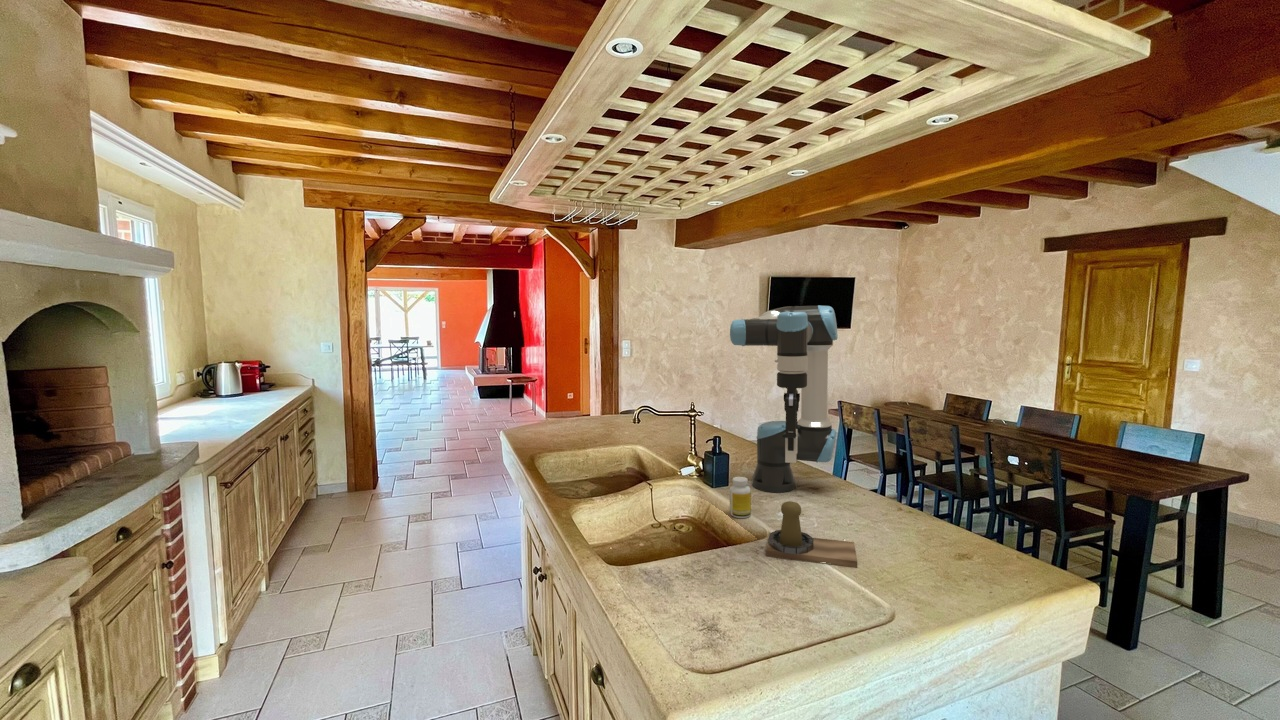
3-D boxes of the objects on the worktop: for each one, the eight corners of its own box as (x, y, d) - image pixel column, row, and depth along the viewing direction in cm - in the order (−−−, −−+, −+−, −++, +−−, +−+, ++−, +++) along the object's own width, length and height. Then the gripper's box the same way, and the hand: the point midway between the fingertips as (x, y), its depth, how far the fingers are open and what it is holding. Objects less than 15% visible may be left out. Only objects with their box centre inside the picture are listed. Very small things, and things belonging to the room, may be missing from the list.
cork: (800, 538, 141) (800, 499, 140) (804, 548, 135) (805, 507, 134) (777, 537, 142) (777, 498, 141) (781, 547, 136) (781, 507, 135)
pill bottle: (752, 518, 159) (752, 482, 158) (731, 519, 159) (731, 482, 158) (748, 510, 166) (748, 475, 164) (728, 511, 166) (728, 475, 165)
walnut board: (769, 538, 146) (769, 532, 145) (853, 547, 139) (854, 542, 138) (766, 556, 135) (766, 550, 135) (857, 567, 128) (857, 561, 128)
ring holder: (770, 532, 145) (770, 527, 145) (813, 537, 142) (813, 532, 142) (767, 550, 135) (767, 545, 135) (813, 556, 131) (813, 550, 131)
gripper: (779, 366, 145) (779, 446, 147) (774, 376, 125) (773, 468, 127) (807, 367, 143) (806, 447, 145) (806, 377, 123) (805, 470, 125)
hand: (791, 457), depth 136 cm, fingers open, 8 cm apart
